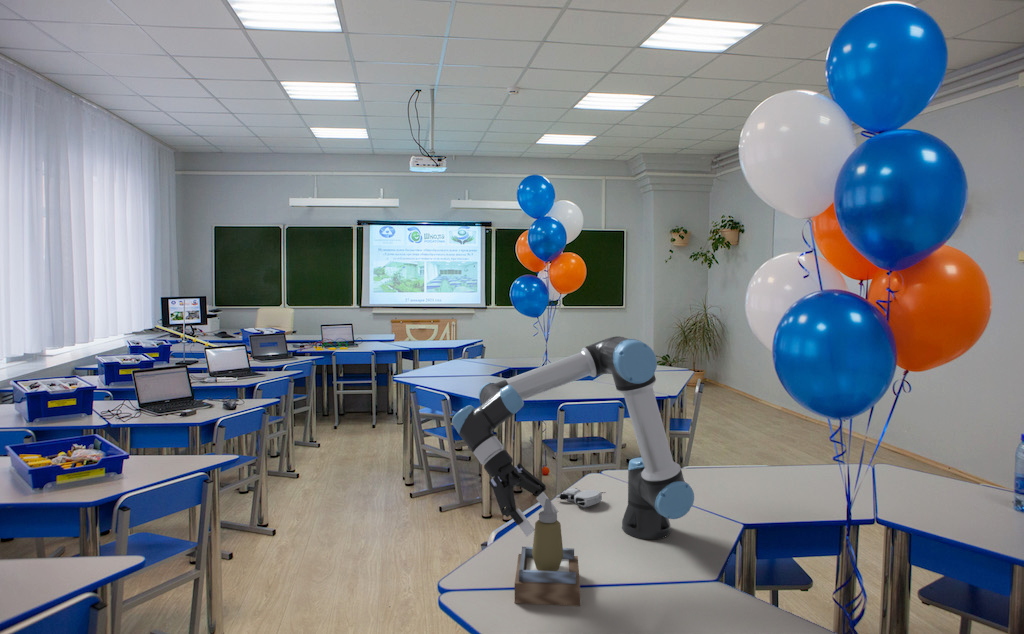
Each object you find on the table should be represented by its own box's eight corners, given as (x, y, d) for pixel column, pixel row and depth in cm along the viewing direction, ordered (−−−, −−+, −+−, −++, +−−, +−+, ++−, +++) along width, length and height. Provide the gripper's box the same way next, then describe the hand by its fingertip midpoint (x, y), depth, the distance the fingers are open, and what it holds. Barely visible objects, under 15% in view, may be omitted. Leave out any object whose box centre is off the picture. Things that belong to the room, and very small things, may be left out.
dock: (577, 574, 161) (577, 547, 160) (579, 606, 145) (580, 576, 145) (518, 571, 162) (518, 544, 162) (514, 603, 146) (514, 573, 146)
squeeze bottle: (554, 578, 148) (554, 507, 147) (526, 570, 152) (526, 501, 151) (568, 565, 155) (569, 498, 154) (541, 558, 159) (541, 492, 158)
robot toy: (553, 504, 214) (588, 512, 204) (553, 492, 214) (587, 499, 204) (573, 495, 223) (607, 502, 213) (573, 483, 223) (607, 490, 213)
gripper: (508, 454, 172) (555, 515, 165) (458, 478, 150) (510, 550, 143) (524, 438, 169) (572, 500, 162) (476, 461, 147) (529, 533, 140)
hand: (543, 523), depth 153 cm, fingers open, 13 cm apart
